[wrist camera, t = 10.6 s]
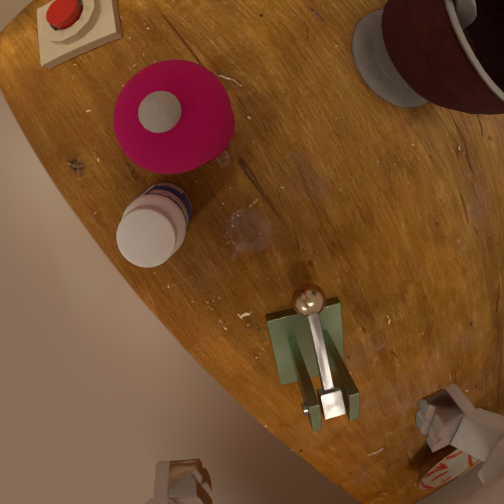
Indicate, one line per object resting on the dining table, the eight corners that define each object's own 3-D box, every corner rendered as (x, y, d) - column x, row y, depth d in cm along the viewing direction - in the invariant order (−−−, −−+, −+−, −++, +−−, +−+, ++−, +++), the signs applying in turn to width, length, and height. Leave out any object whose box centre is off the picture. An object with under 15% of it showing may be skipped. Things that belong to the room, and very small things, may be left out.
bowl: (402, 479, 63) (411, 500, 55) (411, 438, 53) (425, 464, 46) (474, 441, 62) (485, 459, 55) (495, 391, 53) (512, 411, 46)
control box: (50, 69, 25) (32, 63, 21) (45, 14, 22) (29, 5, 18) (122, 37, 25) (110, 26, 21) (114, -18, 22) (103, -32, 18)
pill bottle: (154, 243, 33) (132, 285, 24) (130, 196, 31) (96, 222, 22) (202, 221, 33) (195, 256, 24) (178, 172, 31) (160, 188, 22)
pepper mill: (246, 137, 30) (285, 139, 12) (184, 175, 31) (131, 235, 12) (209, 78, 28) (191, -5, 9) (147, 117, 28) (45, 97, 10)
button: (54, 34, 21) (46, 30, 19) (52, 9, 19) (45, 4, 18) (83, 20, 21) (76, 15, 19) (81, -5, 19) (74, -11, 18)
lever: (287, 288, 33) (290, 286, 30) (318, 280, 33) (324, 278, 30) (314, 412, 31) (320, 423, 28) (344, 403, 31) (352, 413, 28)
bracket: (265, 315, 38) (283, 390, 26) (336, 297, 38) (379, 362, 26) (279, 378, 42) (297, 451, 30) (341, 362, 42) (374, 429, 30)
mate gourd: (442, 26, 26) (560, -4, 8) (443, 124, 31) (578, 142, 12) (330, -12, 25) (423, -105, 6) (328, 99, 29) (455, 69, 11)
